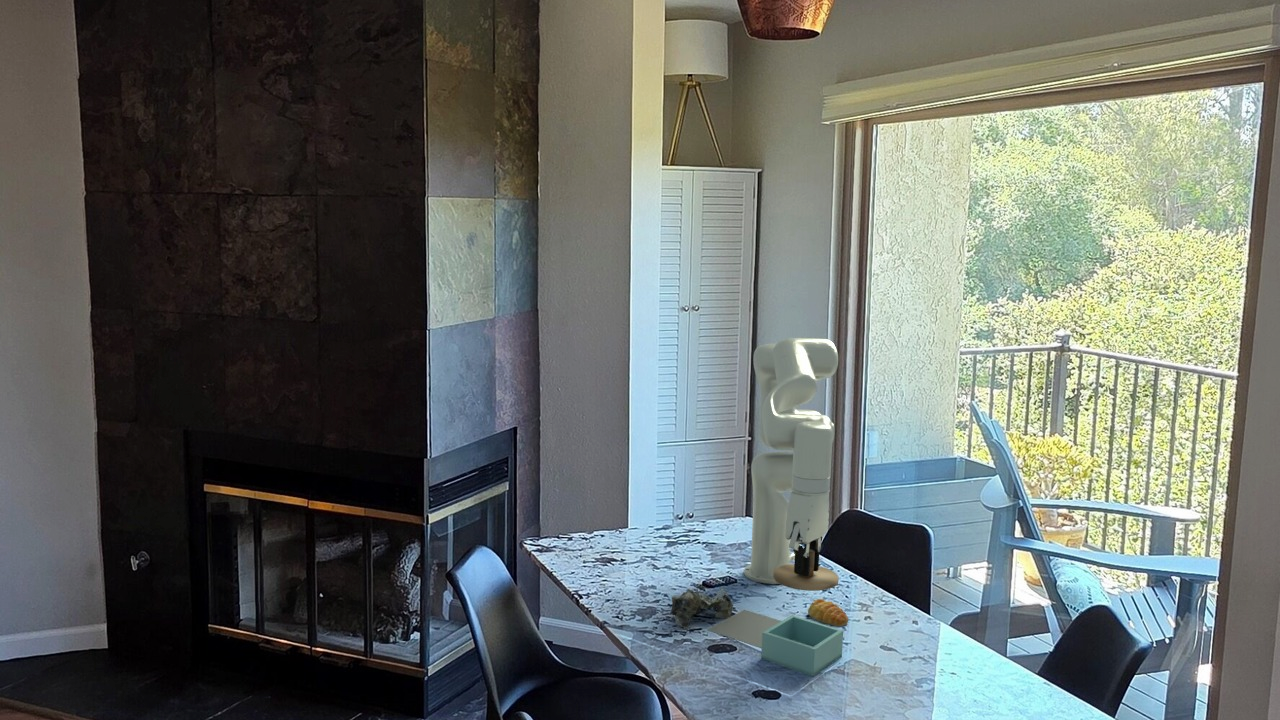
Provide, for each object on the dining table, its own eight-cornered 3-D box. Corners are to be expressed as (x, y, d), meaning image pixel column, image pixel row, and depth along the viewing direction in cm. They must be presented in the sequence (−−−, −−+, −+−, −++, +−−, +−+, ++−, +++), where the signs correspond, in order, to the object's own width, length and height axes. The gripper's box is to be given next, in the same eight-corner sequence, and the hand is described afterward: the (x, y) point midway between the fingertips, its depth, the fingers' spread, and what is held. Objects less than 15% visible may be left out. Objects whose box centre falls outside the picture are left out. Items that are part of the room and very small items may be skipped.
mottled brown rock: (746, 614, 226) (691, 581, 222) (718, 653, 226) (663, 621, 223) (732, 592, 237) (680, 560, 233) (706, 629, 238) (653, 598, 234)
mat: (744, 611, 235) (744, 609, 235) (802, 629, 226) (802, 627, 226) (706, 631, 224) (706, 629, 224) (766, 651, 215) (766, 649, 214)
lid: (793, 563, 218) (794, 536, 217) (849, 577, 210) (851, 550, 209) (761, 579, 207) (762, 552, 207) (819, 595, 200) (820, 567, 199)
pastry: (855, 625, 230) (856, 608, 229) (834, 631, 226) (835, 615, 225) (825, 610, 237) (825, 595, 237) (803, 617, 234) (804, 601, 233)
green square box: (790, 641, 219) (792, 615, 219) (841, 658, 212) (843, 630, 211) (761, 660, 210) (762, 632, 209) (813, 678, 203) (814, 649, 202)
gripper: (814, 472, 214) (809, 557, 217) (773, 488, 201) (769, 578, 204) (846, 479, 210) (841, 566, 212) (807, 496, 197) (802, 587, 200)
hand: (806, 571), depth 208 cm, fingers closed on lid, 3 cm apart
